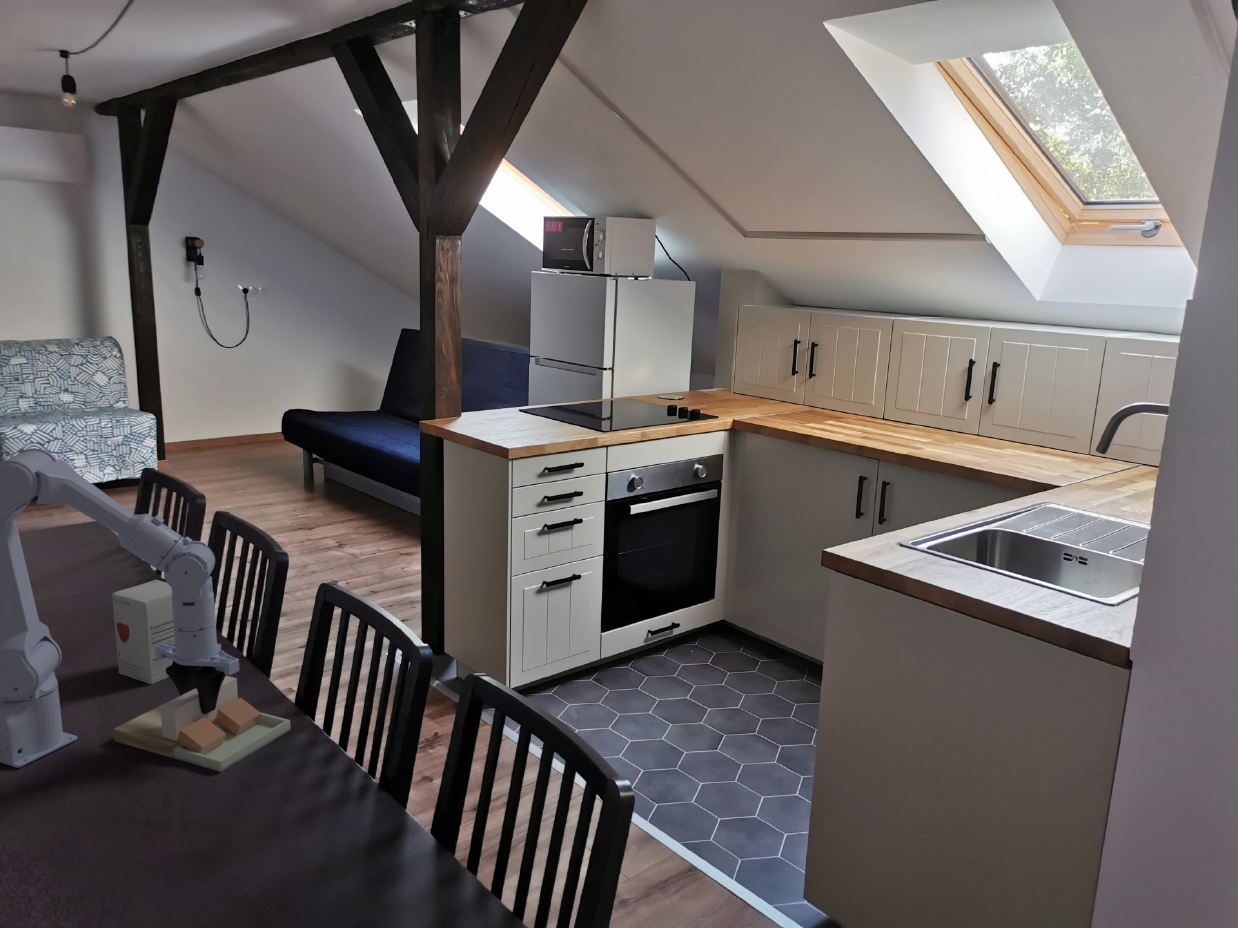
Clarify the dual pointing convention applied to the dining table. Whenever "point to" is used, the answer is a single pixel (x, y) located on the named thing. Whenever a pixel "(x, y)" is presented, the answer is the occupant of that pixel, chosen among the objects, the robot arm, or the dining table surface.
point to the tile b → (238, 716)
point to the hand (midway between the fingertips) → (200, 709)
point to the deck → (147, 734)
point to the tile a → (201, 736)
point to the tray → (236, 744)
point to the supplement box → (143, 629)
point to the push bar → (193, 708)
